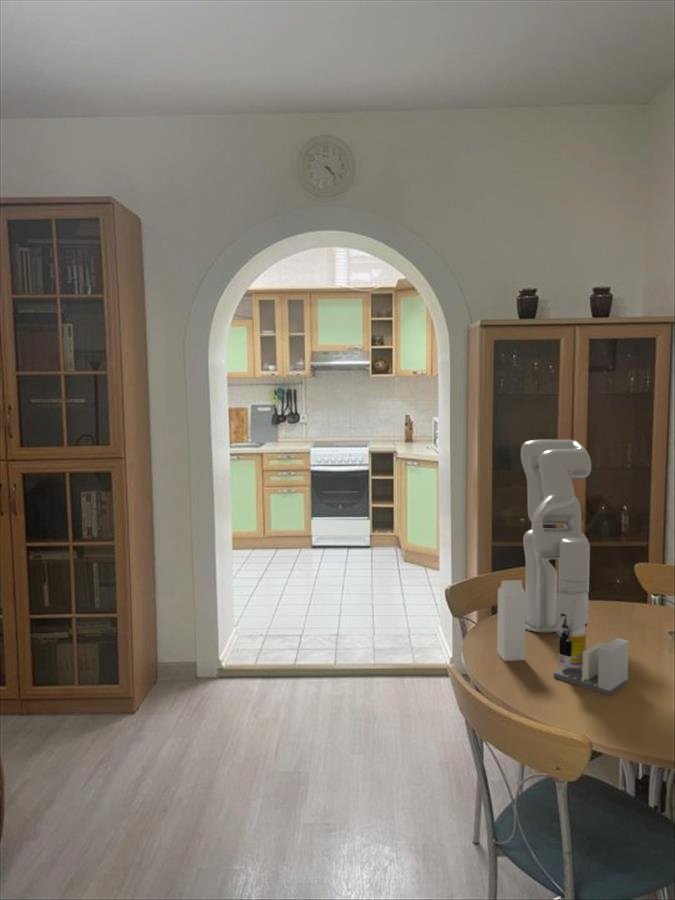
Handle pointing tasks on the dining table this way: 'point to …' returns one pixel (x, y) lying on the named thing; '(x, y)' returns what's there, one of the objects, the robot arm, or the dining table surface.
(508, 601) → the milk
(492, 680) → the dining table surface
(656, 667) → the dining table surface
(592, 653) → the cream flat slab
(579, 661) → the supplement bottle
